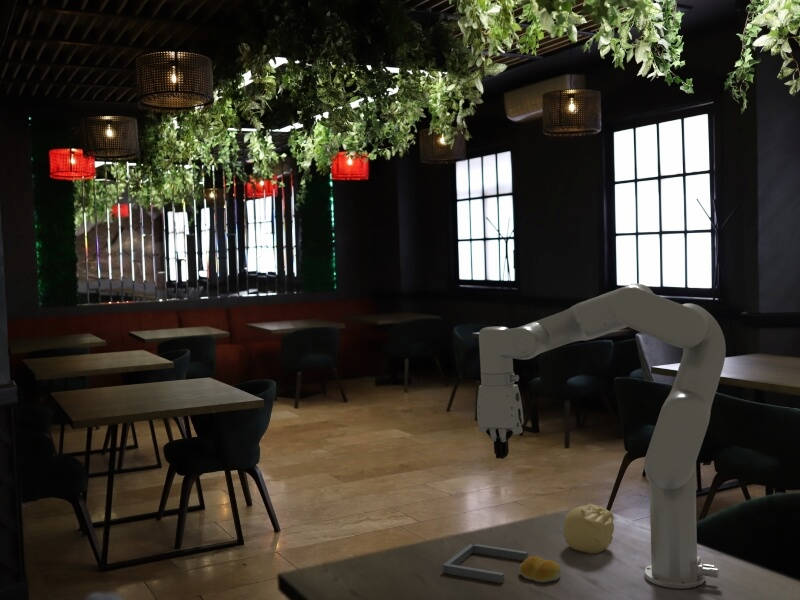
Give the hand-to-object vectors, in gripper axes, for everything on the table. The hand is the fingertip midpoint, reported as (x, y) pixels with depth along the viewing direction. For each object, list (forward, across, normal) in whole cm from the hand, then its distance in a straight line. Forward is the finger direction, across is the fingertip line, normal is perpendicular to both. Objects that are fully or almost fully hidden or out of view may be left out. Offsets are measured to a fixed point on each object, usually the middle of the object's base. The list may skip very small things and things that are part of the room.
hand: (501, 457), depth 194 cm
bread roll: (+25, -10, +6) cm, 28 cm away
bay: (+24, +3, +6) cm, 25 cm away
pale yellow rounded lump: (+25, -15, -15) cm, 33 cm away
